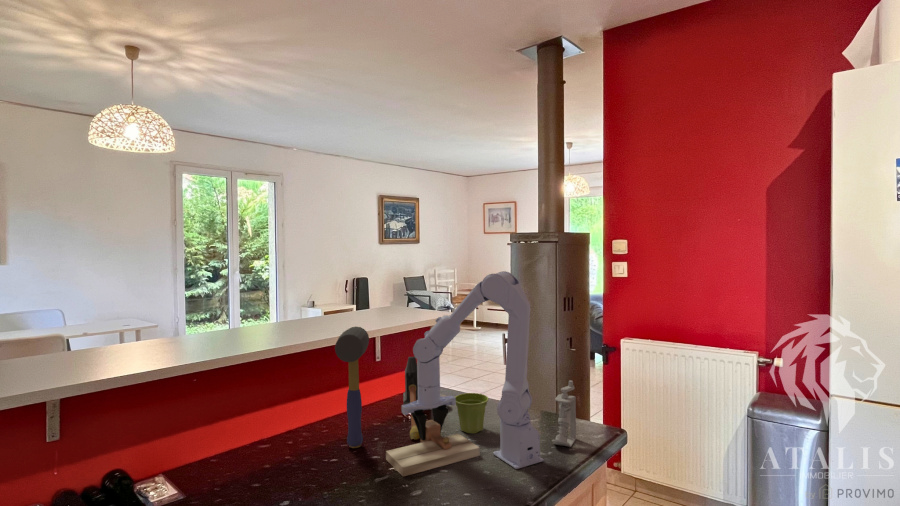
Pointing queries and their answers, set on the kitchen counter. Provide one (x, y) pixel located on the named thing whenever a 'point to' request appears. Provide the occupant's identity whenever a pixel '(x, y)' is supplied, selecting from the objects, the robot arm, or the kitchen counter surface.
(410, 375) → the hammer
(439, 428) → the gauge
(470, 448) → the board
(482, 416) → the plant pot
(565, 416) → the clamp
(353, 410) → the rubber mallet
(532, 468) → the kitchen counter surface
